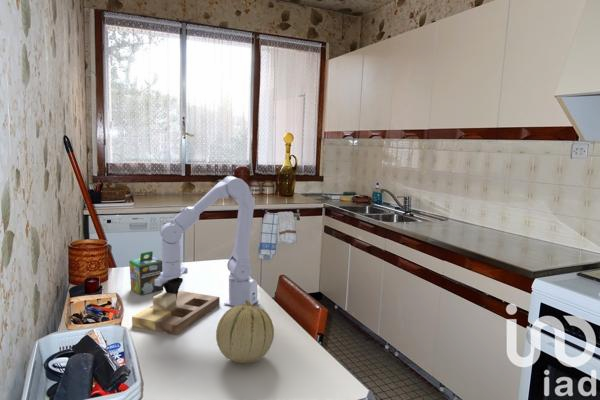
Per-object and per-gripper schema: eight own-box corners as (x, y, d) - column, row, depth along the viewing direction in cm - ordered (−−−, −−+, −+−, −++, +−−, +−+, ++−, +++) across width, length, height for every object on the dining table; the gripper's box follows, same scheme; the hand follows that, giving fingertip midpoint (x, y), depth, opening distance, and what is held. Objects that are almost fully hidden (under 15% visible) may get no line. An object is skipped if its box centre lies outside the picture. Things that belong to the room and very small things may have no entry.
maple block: (176, 305, 137) (176, 294, 137) (166, 311, 133) (166, 299, 132) (163, 303, 139) (163, 291, 138) (153, 309, 134) (152, 297, 134)
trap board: (219, 305, 146) (219, 297, 145) (176, 335, 124) (176, 325, 123) (180, 298, 151) (180, 290, 151) (132, 326, 129) (131, 316, 129)
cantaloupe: (219, 378, 101) (218, 319, 99) (214, 349, 115) (213, 296, 113) (279, 370, 105) (280, 313, 103) (268, 343, 119) (268, 292, 117)
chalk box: (153, 284, 166) (151, 247, 164) (164, 290, 160) (163, 251, 158) (129, 289, 160) (128, 251, 158) (140, 296, 153) (138, 256, 151)
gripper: (174, 253, 145) (175, 291, 147) (145, 264, 132) (147, 306, 134) (192, 255, 143) (193, 294, 145) (164, 267, 130) (166, 310, 131)
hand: (172, 300), depth 139 cm, fingers closed
